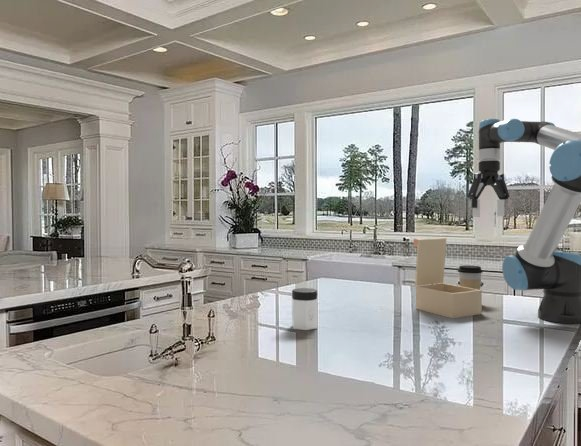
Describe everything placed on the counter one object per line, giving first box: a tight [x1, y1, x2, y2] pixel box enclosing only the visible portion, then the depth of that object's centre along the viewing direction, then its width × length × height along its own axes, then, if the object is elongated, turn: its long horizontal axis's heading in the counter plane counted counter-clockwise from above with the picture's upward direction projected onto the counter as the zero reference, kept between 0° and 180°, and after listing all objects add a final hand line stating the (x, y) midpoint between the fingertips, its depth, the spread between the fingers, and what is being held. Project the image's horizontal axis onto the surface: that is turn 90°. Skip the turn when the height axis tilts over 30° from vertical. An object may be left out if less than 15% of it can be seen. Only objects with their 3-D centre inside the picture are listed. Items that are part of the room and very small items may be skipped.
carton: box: [415, 282, 483, 319], centre depth 178 cm, size 18×14×9 cm
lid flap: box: [412, 237, 447, 286], centre depth 189 cm, size 17×14×9 cm
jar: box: [291, 287, 319, 331], centre depth 158 cm, size 9×8×12 cm
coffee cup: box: [457, 264, 483, 290], centre depth 193 cm, size 9×9×15 cm
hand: (488, 216), depth 187 cm, fingers open, 13 cm apart
